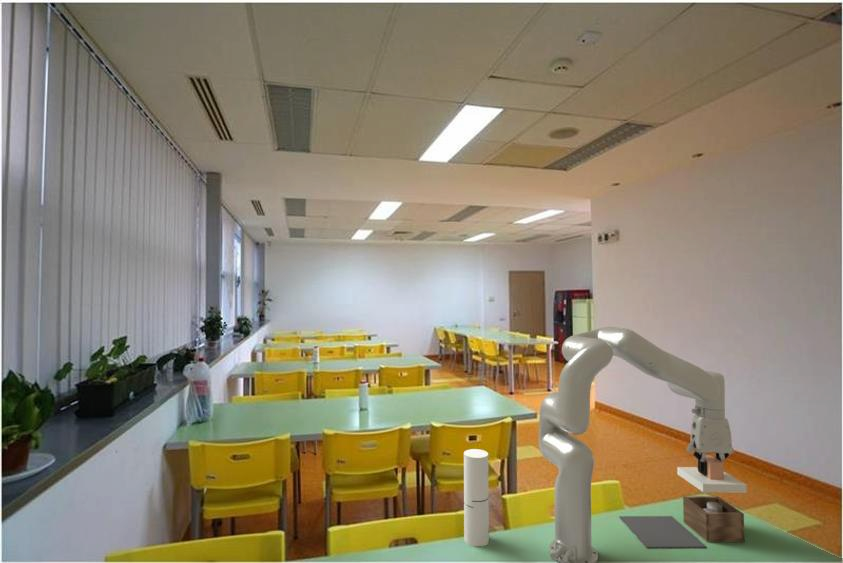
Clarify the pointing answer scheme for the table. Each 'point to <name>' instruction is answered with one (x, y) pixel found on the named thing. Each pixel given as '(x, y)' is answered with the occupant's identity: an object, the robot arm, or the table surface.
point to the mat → (661, 532)
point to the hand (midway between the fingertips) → (710, 473)
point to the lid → (712, 478)
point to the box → (713, 519)
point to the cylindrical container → (476, 497)
